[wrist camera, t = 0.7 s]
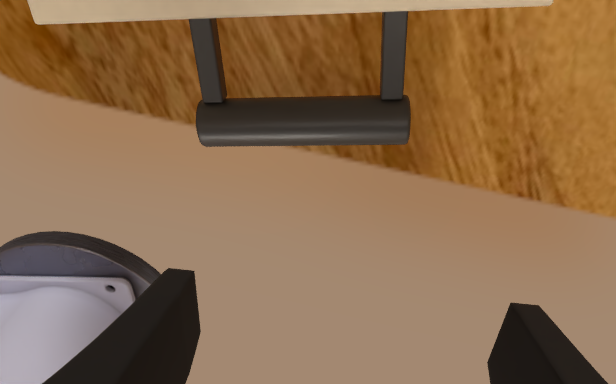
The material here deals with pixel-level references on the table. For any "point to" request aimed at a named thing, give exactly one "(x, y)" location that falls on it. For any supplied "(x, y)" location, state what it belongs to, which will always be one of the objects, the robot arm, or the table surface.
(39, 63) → the table surface
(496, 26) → the table surface
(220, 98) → the drawer
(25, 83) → the table surface
